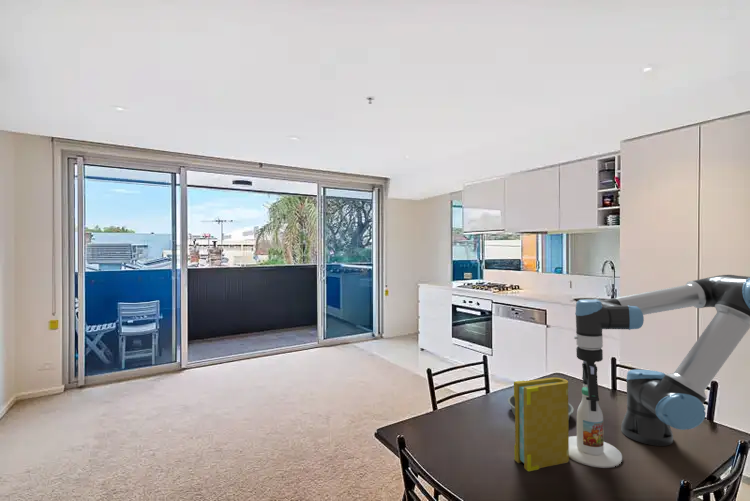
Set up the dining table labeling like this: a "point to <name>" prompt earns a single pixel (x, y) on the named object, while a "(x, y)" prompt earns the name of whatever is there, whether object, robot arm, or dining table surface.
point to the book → (541, 422)
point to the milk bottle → (589, 429)
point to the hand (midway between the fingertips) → (590, 411)
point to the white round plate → (605, 460)
